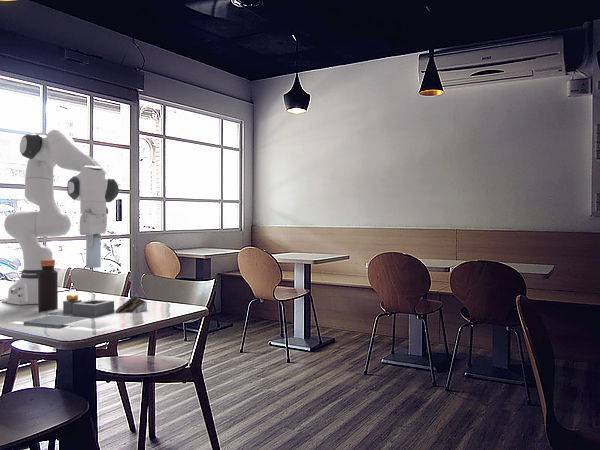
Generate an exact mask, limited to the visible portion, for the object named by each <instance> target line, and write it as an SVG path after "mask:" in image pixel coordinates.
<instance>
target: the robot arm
mask: <svg viewBox="0 0 600 450" xmlns="http://www.w3.org/2000/svg"><path fill="white" fill-rule="evenodd" d="M19 152H20V154H21V155H22V157H24V158H26V159H28V161H27V164H26V170H25V178H24V197H25V199H26V200H27V201H28V202H30V203H32V204H34V205H36V206H38V207H39V210H38V211H18V212H16V211H15V212H11V213H9V214H8V215H7V216H6V217H5V219H4V223H3V226H4V230H5V231H6V232H7V234H8V235H9V236H11V237H12V238H13V239H14V240H16V241H17V243H18V244H19V246H20V248H21V250H22V257H23V269H22V270H19V271H18V272H19V273H18V274H19V275H20V274H21V275H20V278H19V279H17V281H16V282H15V283H14V284H12V285H11V286H10V287H9V288H8V293H7V297H6V298H3V299H1V302H2V303H6V302H7V303H6V304H13V305H32V304H33V305H36V304H37V305H38V273H39V272H40V271H41V270H42V267H41V260H53V251H52V249H51V248H50V247H48V246H46V245H44V244H41V243H40V242H39V241H38V240H39V239H38V238H42V237H43V238H55V237H60V236H65V235H66V234H68V233H69V231H70V229H71V225H72V223H71V219H70V218H69V215H67V214H66V213H65V212H64V211H62V210H61V209H60V208H59V206H58V205H57V203H56V200H55V195H54V170H55V169H54V168H55V166H56V165H57V167H59V168H61V169H64V170H69V171H73V172H74V171H75V172H78V174H77V175H74V176H72V177H71V178H70V179H69V180H68V181H67V189H66V191H67V194H68V196H69V197H70V198H71V199H72V200H74V201H78V202H79V201H80V207H79V208H80V214H81V215H80V217H79V218H80V219H79V235H80V236H85V240H86V239H87V246H88V247H93V246H94V242H93V235H101V234H105V233H106V231H107V223H108V222H107V221H108V215H109V209H108V207H107V203H111V202H113V201H114V200H115V199H116V198H117V197H118V195H119V191H120V189H119V184H118V183H117V181H116V180H115V179H114V178H113V177H112V176H111V175H109V174H108V173H107V172H106V171H105V169H104V168H103V167H102V166H101V165H100V164H99V163H98V162H97V160H96V159H95V158H94V157H92V156H91V155H89V154H88V153H86V152H85V151H84V150H83V149H81V148H80V147H79V146H78V145H77V142H76V141H75V140H74V139H73V137H72V136H71V135H70V134H69V133H68V132H67V131H65V130H64V129H61V128H53V129H52V130H50V131H49V132H48V133H47V134H46V135H41V134H38V133H37V134H36V133H28V134H27V133H26V134H25V135H24V136H22V137H21V139H20V143H19Z"/></svg>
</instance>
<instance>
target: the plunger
mask: <svg viewBox="0 0 600 450" xmlns="http://www.w3.org/2000/svg"><path fill="white" fill-rule="evenodd" d="M67 300H70V302H73V301H75V300H79V295H78V294H69V295H67V294H66V301H67Z"/></svg>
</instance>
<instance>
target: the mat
mask: <svg viewBox="0 0 600 450" xmlns="http://www.w3.org/2000/svg"><path fill="white" fill-rule="evenodd" d="M86 319H88V318H81V317H70V316H59V315H49V316H43V317H38V318H35V319H29V320H26V321H23V325H24V326H35V327H42V328H43V327H45V328H56V329H63V328H67V327H70V326H71V325H67V324H71V323H75V322H79V321H83V320H86Z"/></svg>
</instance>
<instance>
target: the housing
mask: <svg viewBox="0 0 600 450" xmlns="http://www.w3.org/2000/svg"><path fill="white" fill-rule="evenodd" d="M62 304H63V305H62V310H58V311H54V312H49V313H46V315H49V316H51V315H52V316H64V317H75V318H87V319H97V318H100V317H105V316H108V315H112V314H117V313H116V310H117V309H115V301H114V300H104V299H90V300H82V299H78V300H75V301H73V302H70V300H67V299H66V300H63V302H62Z"/></svg>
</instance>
